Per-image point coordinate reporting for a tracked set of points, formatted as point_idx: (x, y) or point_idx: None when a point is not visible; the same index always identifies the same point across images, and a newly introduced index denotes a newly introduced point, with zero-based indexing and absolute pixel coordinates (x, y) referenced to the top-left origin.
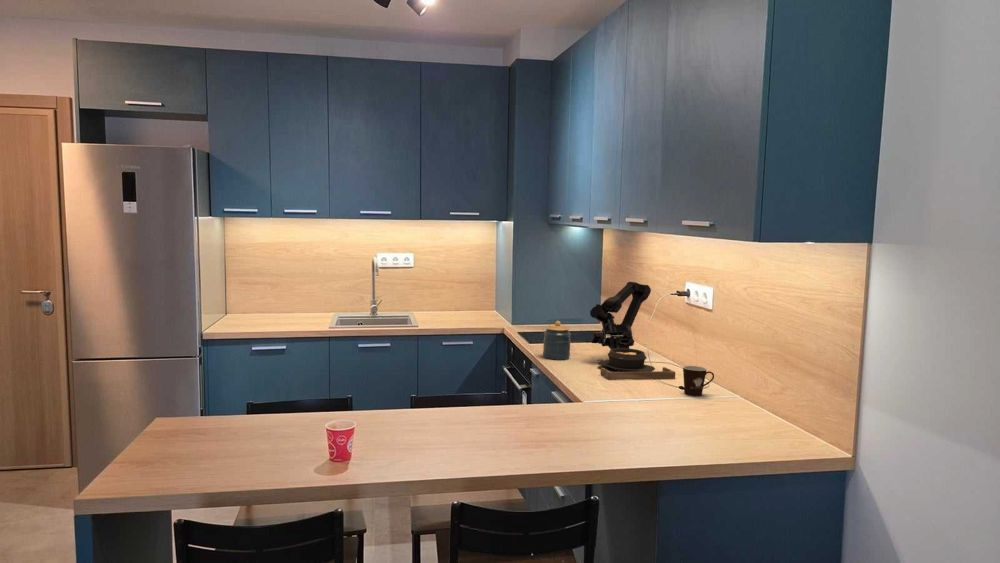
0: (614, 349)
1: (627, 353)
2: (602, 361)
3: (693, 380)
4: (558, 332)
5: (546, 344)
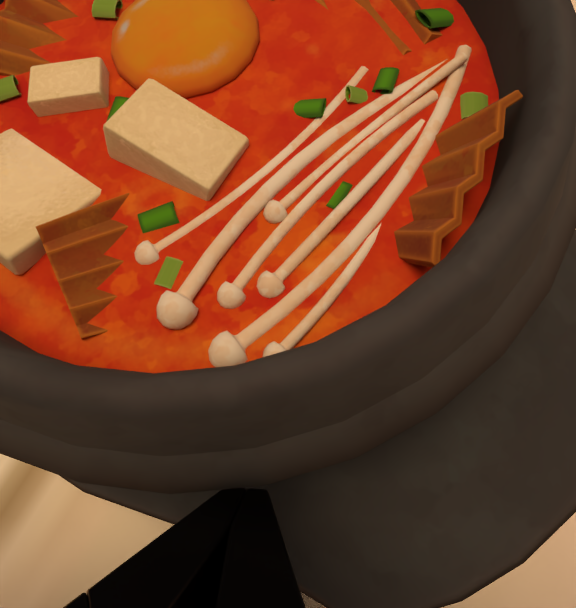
0: (357, 323)
1: (158, 113)
2: (532, 465)
3: None
4: None
5: None
